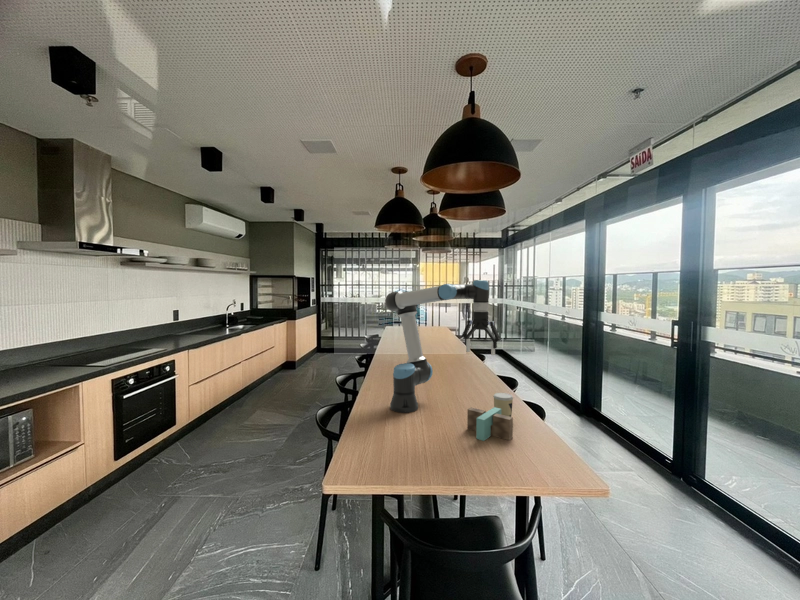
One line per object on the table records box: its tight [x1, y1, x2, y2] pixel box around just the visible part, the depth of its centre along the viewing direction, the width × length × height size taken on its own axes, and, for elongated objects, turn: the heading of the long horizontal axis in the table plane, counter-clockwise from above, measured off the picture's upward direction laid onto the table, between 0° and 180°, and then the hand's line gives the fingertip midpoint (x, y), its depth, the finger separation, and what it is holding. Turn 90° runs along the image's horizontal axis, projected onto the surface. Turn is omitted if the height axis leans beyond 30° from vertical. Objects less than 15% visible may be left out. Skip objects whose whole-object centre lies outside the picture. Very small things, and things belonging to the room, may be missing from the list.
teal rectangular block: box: [475, 407, 501, 442], centre depth 152 cm, size 4×18×9 cm, turn 140°
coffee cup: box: [492, 392, 514, 417], centre depth 169 cm, size 9×9×12 cm
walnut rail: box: [466, 407, 514, 441], centre depth 152 cm, size 20×4×9 cm, turn 50°
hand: (480, 353), depth 171 cm, fingers open, 13 cm apart
